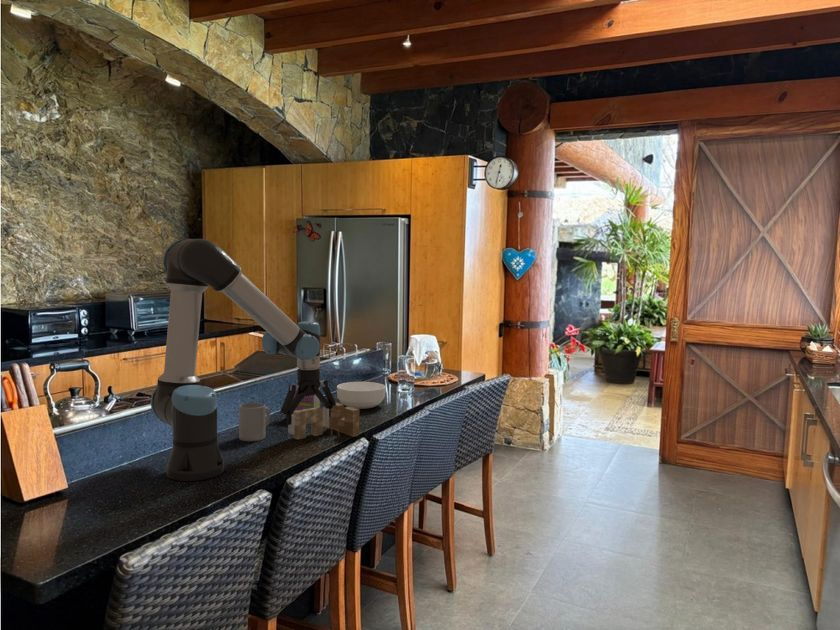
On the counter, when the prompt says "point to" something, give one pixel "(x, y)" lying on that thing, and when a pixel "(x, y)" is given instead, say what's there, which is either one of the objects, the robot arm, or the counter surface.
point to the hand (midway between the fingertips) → (308, 430)
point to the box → (307, 402)
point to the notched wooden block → (345, 419)
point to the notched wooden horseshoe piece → (308, 422)
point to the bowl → (361, 394)
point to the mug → (253, 421)
